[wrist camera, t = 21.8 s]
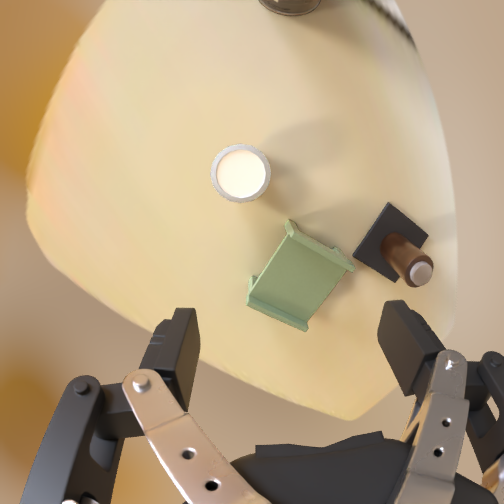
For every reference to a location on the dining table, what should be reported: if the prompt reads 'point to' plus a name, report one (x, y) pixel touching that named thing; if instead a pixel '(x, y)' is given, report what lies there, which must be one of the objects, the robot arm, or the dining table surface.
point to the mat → (382, 227)
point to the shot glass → (240, 173)
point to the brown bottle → (406, 259)
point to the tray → (297, 278)
